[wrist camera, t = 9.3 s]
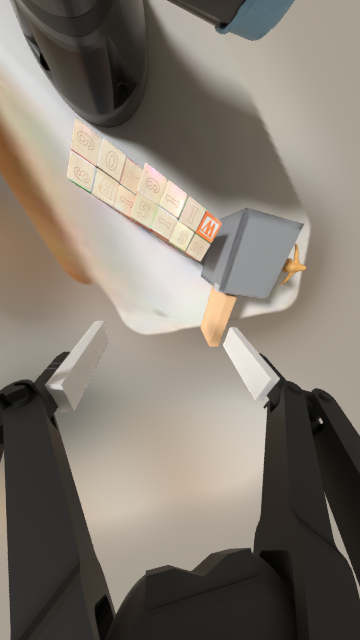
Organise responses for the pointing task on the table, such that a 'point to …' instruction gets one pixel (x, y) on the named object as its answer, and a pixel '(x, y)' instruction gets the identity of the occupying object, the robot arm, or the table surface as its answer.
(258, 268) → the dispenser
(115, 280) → the table surface
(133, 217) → the stack of blocks
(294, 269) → the figurine
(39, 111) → the table surface
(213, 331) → the light orange rectangular block
